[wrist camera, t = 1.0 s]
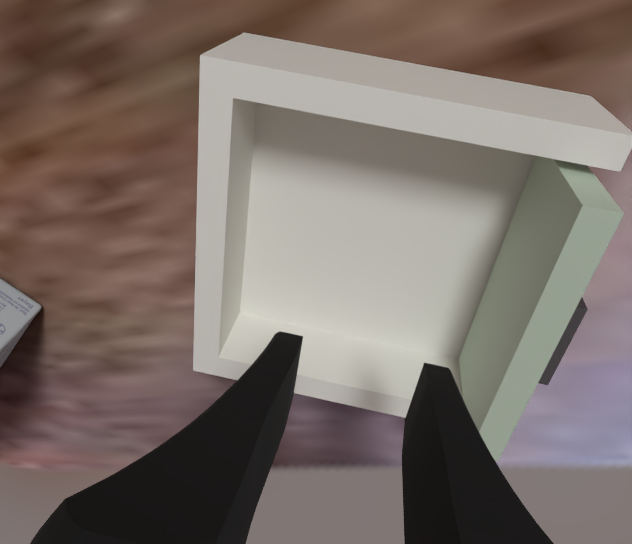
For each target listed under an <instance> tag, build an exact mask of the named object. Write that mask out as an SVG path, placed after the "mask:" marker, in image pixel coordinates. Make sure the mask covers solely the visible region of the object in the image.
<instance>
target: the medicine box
mask: <svg viewBox="0 0 632 544" xmlns="http://www.w3.org/2000/svg"><path fill="white" fill-rule="evenodd" d="M41 308H42V307H41V305H40V304H38V303H37V302H35V301H34V300H32V299H31V298H30V297H28V296H27V295H25V294H24V293H22V292H21V291H19V290H18V289H16V288H15V287H13V286H12V285H10V284H9V283H7V282H6V281H4V280H2V279H1V278H0V368H1V366H2V365H3V363H4V362H5V360H6V359H7V357H8V356H9V354H10V353H11V351H12V350H13V348H14V347H15V345H16V344H17V342H18V341H19V339H20V338H21V336H22V335H23V333H24V332H25V330H26V329H27V327H28V326H29V324H30V323H31V321H32V320H33V318H34V317H35V316H36V315H37V313H38V312H39V311H40V310H41Z"/></svg>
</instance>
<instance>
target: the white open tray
mask: <svg viewBox="0 0 632 544" xmlns="http://www.w3.org/2000/svg"><path fill="white" fill-rule="evenodd" d="M631 149H632V131H630V130H629V129H628V128H627V127H626V126H625V125H623V124H622V123H621V122H620V121H619V120H618V119H617V118H615V117H614V116H613V115H612V114H611V113H610V112H609V111H607V110H606V109H605V108H604V107H603V106H602V105H600V104H599V103H598V102H597V101H596V100H595V99H594V98H592V97H591V96H588V95H583V94H578V93H572V92H567V91H561V90H556V89H550V88H545V87H539V86H534V85H528V84H523V83H517V82H512V81H506V80H501V79H495V78H490V77H485V76H479V75H474V74H468V73H463V72H457V71H452V70H446V69H441V68H435V67H430V66H424V65H419V64H413V63H408V62H402V61H397V60H391V59H386V58H381V57H375V56H370V55H364V54H359V53H353V52H348V51H342V50H337V49H331V48H326V47H320V46H315V45H309V44H304V43H298V42H293V41H288V40H282V39H277V38H271V37H266V36H260V35H255V34H249V33H243V34H241V35H239V36H237V37H235V38H233V39H231V40H229V41H227V42H225V43H223V44H221V45H219V46H217V47H215V48H213V49H211V50H209V51H207V52H205V53H203V54H201V55H200V85H199V130H198V176H197V221H196V266H195V312H194V357H193V371H198V372H202V373H207V374H211V375H216V376H220V377H225V378H229V379H234V380H238V379H239V378H240V377H241V376H242V375H243V374H244V373H245V372H246V371H247V369H248V368H249V367H250V366H251V365H252V364H253V363H254V362H255V360H256V359H257V358H258V357H259V355H260V354H261V353H262V352H263V350H264V349H265V348H266V347H267V345H268V344H269V342H270V341H271V339H272V338H273V336H274V335H275V334H276V333H278V332H279V331H281V332H286V333H290V334H295V335H299V336H303V340H302V346H301V352H300V358H299V364H298V370H297V376H296V383H295V389H294V393H296V394H301V395H305V396H310V397H314V398H319V399H323V400H328V401H332V402H337V403H341V404H346V405H350V406H355V407H359V408H363V409H368V410H372V411H377V412H381V413H386V414H390V415H395V416H399V417H404V418H406V415H407V412H408V409H409V406H410V403H411V400H412V397H413V394H414V391H415V388H416V386H417V383H418V380H419V377H420V374H421V371H422V368H423V365H424V363H429V364H433V365H438V366H443V367H447V368H449V369H450V371H451V372H452V375H453V377H454V379H455V382H456V384H457V387H458V389H459V391H460V394H461V396H462V386H461V376H460V366H459V356H460V354H461V351H462V348H463V346H464V343H465V341H466V338H467V335H468V333H469V330H470V327H471V325H472V322H473V320H474V317H475V314H476V312H477V309H478V307H479V304H480V301H481V299H482V296H483V294H484V291H485V288H486V286H487V283H488V281H489V278H490V275H491V273H492V270H493V268H494V265H495V262H496V260H497V257H498V255H499V252H500V249H501V247H502V244H503V241H504V239H505V236H506V234H507V231H508V228H509V226H510V223H511V221H512V218H513V215H514V213H515V210H516V208H517V205H518V202H519V200H520V197H521V195H522V192H523V189H524V187H525V184H526V182H527V179H528V176H529V174H530V171H531V168H532V166H533V163H534V161H535V158H536V156H540V157H546V158H551V159H556V160H561V161H567V162H572V163H577V164H582V165H588V166H593V167H598V168H603V169H608V170H614V171H619V172H620V171H621V169H622V167H623V165H624V163H625V161H626V159H627V157H628V155H629V153H630V151H631ZM462 398H463V396H462Z"/></svg>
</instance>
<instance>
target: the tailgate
mask: <svg viewBox="0 0 632 544" xmlns="http://www.w3.org/2000/svg"><path fill="white" fill-rule="evenodd" d="M623 215H624V213H623V211H622V210H621V209H620V207H619V206H618V205H617V203H616V202H615V201H614V200H613V198H612V197H611V196H610V194H609V193H608V192H607V191H606V189H605V188H604V187H603V185H602V184H601V183H600V181H599V180H598V179H597V178H596V176H595V175H594V174H593V172H592V171H591V170H590V169H589V167H588V166H587V165H582V164H577V163H572V162H567V161H561V160H556V159H551V158H546V157H540V156H536V158H535V161H534V163H533V166H532V168H531V171H530V174H529V176H528V179H527V182H526V184H525V187H524V189H523V192H522V195H521V197H520V200H519V202H518V205H517V208H516V210H515V213H514V215H513V218H512V221H511V223H510V226H509V228H508V231H507V234H506V236H505V239H504V241H503V244H502V247H501V249H500V252H499V255H498V257H497V260H496V262H495V265H494V268H493V270H492V273H491V275H490V278H489V281H488V283H487V286H486V288H485V291H484V294H483V296H482V299H481V301H480V304H479V307H478V309H477V312H476V314H475V317H474V320H473V322H472V325H471V327H470V330H469V333H468V335H467V338H466V341H465V343H464V346H463V348H462V351H461V354H460V356H459V366H460V376H461V386H462V396H463V400H464V402H465V405H466V407H467V409H468V411H469V413H470V415H471V417H472V419H473V421H474V423H475V425H476V427H477V429H478V431H479V433H480V435H481V437H482V439H483V441H484V442H485V444H486V446H487V448H488V450H489V451H490V453H491V455H492V457H493V458H494V460H495V461H499V459H500V457H501V455H502V453H503V451H504V449H505V447H506V445H507V443H508V441H509V439H510V437H511V435H512V433H513V431H514V429H515V427H516V425H517V423H518V421H519V419H520V417H521V415H522V413H523V411H524V409H525V408H526V406H527V404H528V402H529V400H530V398H531V396H532V394H533V392H534V390H535V388H536V386H537V384H538V383H540V384H545V385H548V384H549V382H550V380H551V378H552V376H553V374H554V372H555V370H556V368H557V367H558V365H559V363H560V361H561V359H562V357H563V355H564V353H565V351H566V349H567V347H568V346H569V344H570V342H571V340H572V338H573V336H574V334H575V332H576V330H577V328H578V326H579V325H580V323H581V321H582V319H583V317H584V315H585V313H586V311H587V307H586V305H585V303H584V301H583V298H582V295H583V294H584V292H585V290H586V288H587V286H588V284H589V282H590V280H591V278H592V276H593V274H594V272H595V270H596V268H597V266H598V264H599V262H600V260H601V258H602V256H603V254H604V252H605V250H606V248H607V246H608V244H609V242H610V240H611V239H612V237H613V235H614V233H615V231H616V229H617V227H618V225H619V223H620V221H621V219H622V217H623Z"/></svg>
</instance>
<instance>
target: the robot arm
mask: <svg viewBox="0 0 632 544" xmlns="http://www.w3.org/2000/svg"><path fill="white" fill-rule="evenodd" d="M302 340H303V336H299V335H295V334H290V333H286V332H281V331H279V332H278V333H276V334H275V335H274V336H273V338H272V339H271V341H270V342H269V344H268V345H267V347H266V348H265V349H264V350H263V352H262V353H261V354H260V355H259V357H258V358H257V359H256V360H255V362H254V363H253V364H252V365H251V366H250V367H249V368H248V369H247V371H246V372H245V373H244V374H243V375H242V376H241V377H240V378H239V379H238V380H237V381H236V382H235V384H234V385H233V386H232V387H230V388H229V389H228V390H227V391H226V392H225V393H224V394H223V395H222V396H221V397H220V398H219V399H218V400H217V401H216V402H215V403H214V404H213V405H212V406H210V407H209V408H208V409H207V410H206V411H205V412H204V413H202V414H201V415H200V416H199V417H198V418H196V419H195V420H194V421H193V422H191V423H190V424H189V425H188V426H186V427H185V428H184V429H183V430H181V431H180V432H178V433H177V434H176V435H174V436H173V437H172V438H170V439H169V440H167V441H166V442H165V443H163V444H162V445H160V446H159V447H157V448H156V449H154V450H153V451H151V452H150V453H148V454H147V455H145V456H143V457H142V458H140V459H138V460H137V461H135V462H133V463H132V464H130V465H128V466H127V467H125V468H123V469H122V470H120V471H118V472H117V473H115V474H113V475H111V476H110V477H108V478H106V479H104V480H102V481H100V482H98V483H96V484H94V485H92V486H90V487H88V488H86V489H84V490H82V491H80V492H78V493H76V494H74V495H73V496H70V497H68V498H66V499H65V500H64V501H63V502H62V503H61V504H60V505H59V507H58V508H57V509H56V510H55V511H54V513H53V514H52V515H51V516H50V517H49V519H48V520H47V521H46V522H45V523H44V525H43V526H42V527H41V528H40V530H39V531H38V533H37V534H36V535H35V537H34V538H33V540H32V542H31V543H30V544H245V543H246V540H247V536H248V532H249V528H250V525H251V522H252V519H253V515H254V512H255V509H256V506H257V503H258V501H259V498H260V495H261V493H262V490H263V487H264V484H265V482H266V479H267V476H268V474H269V471H270V468H271V466H272V463H273V460H274V457H275V455H276V452H277V449H278V446H279V444H280V441H281V438H282V435H283V433H284V430H285V426H286V422H287V418H288V414H289V410H290V406H291V402H292V398H293V394H294V389H295V383H296V376H297V370H298V364H299V358H300V352H301V346H302ZM402 476H403V506H404V535H405V544H553V542H552V541H551V540H550V539H549V537H548V536H547V535H546V534H545V533H544V531H543V530H542V529H541V528H540V527H539V525H538V524H537V523H536V521H535V520H534V519H533V517H532V516H531V515H530V513H529V512H528V511H527V509H526V508H525V507H524V505H523V504H522V502H521V501H520V499H519V498H518V497H517V495H516V494H515V492H514V491H513V489H512V488H511V486H510V485H509V483H508V481H507V480H506V478H505V477H504V475H503V474H502V472H501V470H500V469H499V467H498V465H497V463H496V462H495V460H494V458H493V457H492V455H491V453H490V451H489V450H488V448H487V446H486V444H485V442H484V441H483V439H482V437H481V435H480V433H479V431H478V429H477V427H476V425H475V423H474V421H473V419H472V417H471V415H470V413H469V411H468V409H467V407H466V405H465V402H464V400H463V398H462V396H461V394H460V391H459V389H458V387H457V384H456V382H455V379H454V377H453V375H452V372H451V371H450V369H449V368H447V367H443V366H438V365H433V364H429V363H424V365H423V368H422V371H421V374H420V377H419V380H418V383H417V386H416V388H415V391H414V394H413V397H412V400H411V403H410V406H409V409H408V412H407V415H406V418H405V427H404V437H403V450H402Z"/></svg>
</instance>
